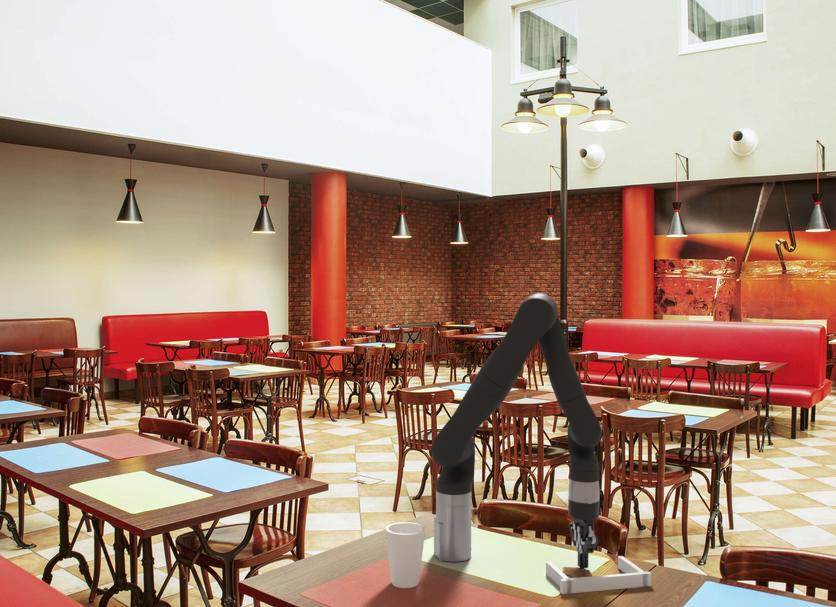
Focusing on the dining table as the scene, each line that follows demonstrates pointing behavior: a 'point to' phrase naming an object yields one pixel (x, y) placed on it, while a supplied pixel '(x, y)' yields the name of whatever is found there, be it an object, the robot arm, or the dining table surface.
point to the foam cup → (405, 552)
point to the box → (601, 579)
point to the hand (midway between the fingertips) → (582, 567)
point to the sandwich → (576, 572)
